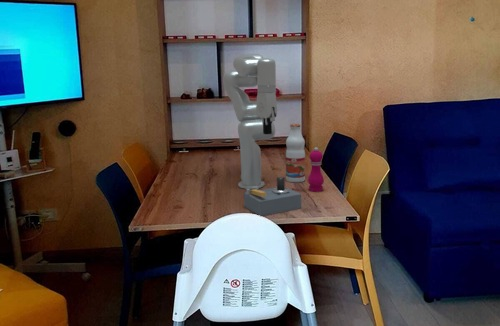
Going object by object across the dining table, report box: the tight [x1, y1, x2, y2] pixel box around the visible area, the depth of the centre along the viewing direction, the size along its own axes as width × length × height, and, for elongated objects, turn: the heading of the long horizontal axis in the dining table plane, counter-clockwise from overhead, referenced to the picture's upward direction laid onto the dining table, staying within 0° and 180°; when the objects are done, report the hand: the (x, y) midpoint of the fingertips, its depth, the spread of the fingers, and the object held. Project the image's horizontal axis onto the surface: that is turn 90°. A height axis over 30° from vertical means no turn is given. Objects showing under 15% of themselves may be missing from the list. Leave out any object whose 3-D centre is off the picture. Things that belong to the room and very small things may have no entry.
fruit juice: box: [285, 123, 306, 183], centre depth 237 cm, size 9×9×28 cm
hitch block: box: [243, 186, 302, 217], centre depth 199 cm, size 14×19×8 cm
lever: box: [250, 189, 266, 197], centre depth 195 cm, size 11×2×2 cm, turn 27°
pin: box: [273, 176, 290, 195], centre depth 200 cm, size 6×6×12 cm
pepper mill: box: [307, 147, 325, 193], centre depth 220 cm, size 7×7×20 cm
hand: (267, 133), depth 203 cm, fingers closed
